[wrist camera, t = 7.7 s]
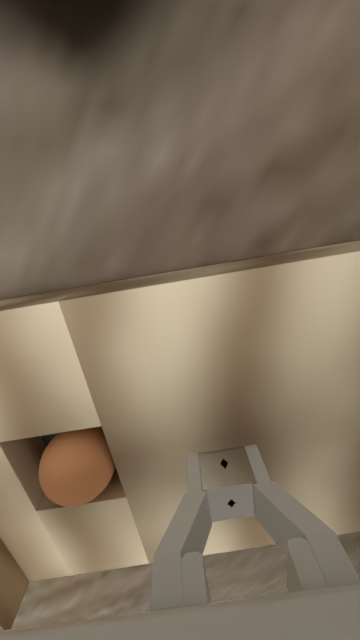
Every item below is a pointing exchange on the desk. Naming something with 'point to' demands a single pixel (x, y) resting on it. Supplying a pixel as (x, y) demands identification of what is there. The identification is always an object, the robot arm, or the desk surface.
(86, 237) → the desk surface
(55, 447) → the ball
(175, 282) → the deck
